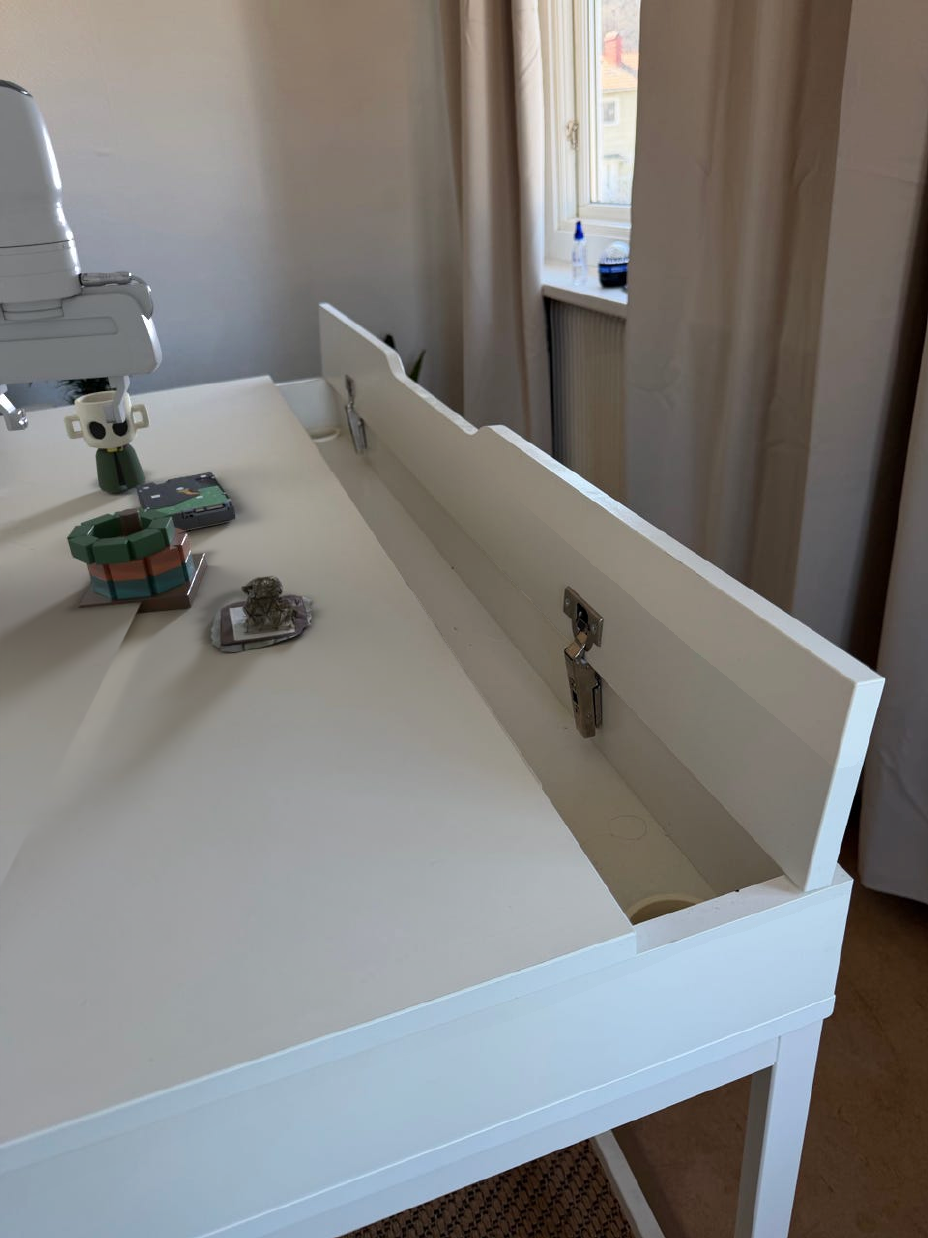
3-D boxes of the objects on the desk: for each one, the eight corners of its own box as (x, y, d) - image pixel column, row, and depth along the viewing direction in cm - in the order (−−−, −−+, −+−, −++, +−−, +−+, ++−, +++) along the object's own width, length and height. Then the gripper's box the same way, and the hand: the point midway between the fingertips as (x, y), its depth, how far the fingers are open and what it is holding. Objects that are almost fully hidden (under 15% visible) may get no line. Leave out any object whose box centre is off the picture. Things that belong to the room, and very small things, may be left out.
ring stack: (82, 618, 96) (58, 536, 92) (108, 574, 106) (88, 498, 102) (191, 607, 96) (172, 525, 92) (207, 565, 106) (191, 489, 102)
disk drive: (138, 505, 127) (154, 538, 114) (133, 485, 126) (149, 517, 113) (215, 489, 130) (238, 520, 118) (211, 470, 129) (234, 499, 117)
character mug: (83, 502, 129) (58, 408, 123) (83, 487, 135) (59, 397, 129) (165, 488, 132) (144, 396, 126) (161, 474, 138) (141, 385, 132)
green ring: (62, 568, 94) (57, 550, 93) (88, 531, 103) (83, 514, 102) (163, 558, 94) (159, 539, 93) (181, 522, 103) (177, 505, 102)
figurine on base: (275, 573, 100) (329, 557, 92) (291, 632, 100) (347, 622, 92) (170, 599, 92) (219, 585, 84) (188, 663, 93) (239, 655, 84)
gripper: (153, 265, 90) (180, 409, 96) (-68, 279, 88) (-26, 424, 95) (138, 273, 84) (168, 426, 90) (-98, 288, 83) (-51, 442, 89)
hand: (67, 425), depth 93 cm, fingers open, 8 cm apart
